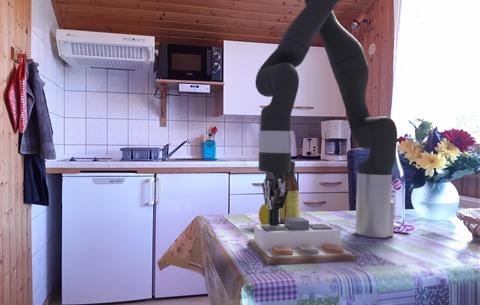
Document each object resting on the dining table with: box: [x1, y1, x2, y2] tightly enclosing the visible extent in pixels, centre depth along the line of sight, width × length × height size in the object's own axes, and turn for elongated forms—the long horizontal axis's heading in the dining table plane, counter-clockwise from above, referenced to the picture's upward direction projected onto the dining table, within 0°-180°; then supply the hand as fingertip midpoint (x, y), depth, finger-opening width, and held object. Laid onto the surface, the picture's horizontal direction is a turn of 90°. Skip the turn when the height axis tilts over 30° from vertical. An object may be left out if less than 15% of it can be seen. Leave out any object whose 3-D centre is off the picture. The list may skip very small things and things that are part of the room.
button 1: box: [309, 223, 332, 230], centre depth 84 cm, size 4×4×4 cm
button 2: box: [284, 216, 310, 230], centre depth 83 cm, size 4×4×4 cm
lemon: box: [258, 203, 269, 225], centre depth 103 cm, size 6×6×8 cm
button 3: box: [260, 224, 285, 231], centre depth 82 cm, size 4×4×4 cm
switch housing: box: [253, 222, 342, 251], centre depth 83 cm, size 19×8×4 cm, turn 102°
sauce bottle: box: [279, 160, 300, 224], centre depth 112 cm, size 7×6×20 cm
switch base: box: [248, 238, 358, 266], centre depth 81 cm, size 20×16×2 cm
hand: (273, 225), depth 81 cm, fingers closed
